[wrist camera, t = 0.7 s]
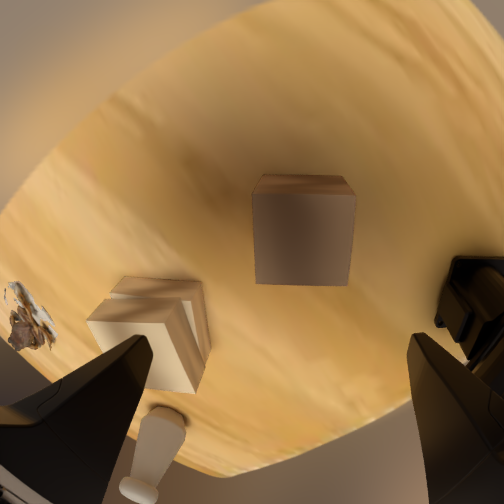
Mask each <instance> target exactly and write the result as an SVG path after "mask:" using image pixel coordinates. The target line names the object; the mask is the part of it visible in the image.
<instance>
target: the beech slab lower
mask: <svg viewBox="0 0 504 504" xmlns="http://www.w3.org/2000/svg"><path fill="white" fill-rule="evenodd" d="M110 296H111V299H128V298H166V297H180V298H181V301H182V304H183V306H184V309H185V312H186V315H187V318H188V321H189V324H190V326H191V329H192V332H193V335H194V337H195V340H196V343H197V345H198V348H199V351H200V353H201V356H202V358H203V361H204V364H206V361H207V359H208V356H209V353H210V351H211V343H210V337H209V331H208V324H207V317H206V311H205V304H204V297H203V290H202V282H195V281H179V280H165V279H151V278H139V277H126V276H125V277H124V278H123V279H122V280H121V281H120V282H119V283H118V284H117V285H116V286H115V287H114V288H113V289H112V290H111V292H110Z"/></svg>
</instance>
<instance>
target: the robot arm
mask: <svg viewBox="0 0 504 504" xmlns="http://www.w3.org/2000/svg"><path fill="white" fill-rule="evenodd" d="M458 262H460V263H459V264H458V265H457V263H458ZM440 321H441V322H440ZM439 322H440V323H439ZM434 323H435V325H436V327H437V328H446V327H447V328H448V330H449V332H450V334H451V336H452V338H453V340H454V341H455V343H459V344H460V346H461V348H462V350H463V352H464V354H465V356H466V358H467V360H470V361H469V362H468V364H467V365H466V366H464V365H463V364H462V363H461V362H459V361H458V360H457V359H456V358H455V357H453V356H452V355H451V354H450V353H449V352H447V351H446V350H445V349H444V348H443V347H441V346H440V345H439V344H438V343H437V342H435V341H434V340H433V339H432V338H431V337H429V336H428V335H427V334H426V333H424V332H421V333H414V334H412V336H411V339H410V343H409V347H408V351H407V363H408V370H409V378H410V386H411V395H412V401H413V406H414V411H415V415H416V420H417V425H418V430H419V435H420V440H421V446H422V452H423V458H424V465H425V472H426V480H427V488H428V497H429V504H504V257H470V256H457V257H455V258H454V259H453V261H452V264H451V268H450V272H449V276H448V279H447V283H446V284H445V287H444V290H443V294H442V297H441V300H440V303H439V307H438V312H437V315H436V318H435V321H434ZM152 360H153V351H152V348H151V346H150V343H149V341H148V339H147V337H146V336H145V335H140V334H135V335H133V336H131V337H130V338H128V339H126V340H125V341H123V342H121V343H120V344H118V345H116V346H115V347H113V348H111V349H110V350H108V351H106V352H105V353H103V354H101V355H100V356H98V357H96V358H95V359H93V360H91V361H90V362H88V363H86V364H85V365H83V366H81V367H80V368H78V369H76V370H75V371H73V372H71V373H70V374H68V375H66V376H64V377H63V379H62V378H61V379H59V380H58V381H56V382H54V383H53V384H51V385H49V386H47V387H45V388H44V389H42V390H40V391H38V392H36V393H34V394H32V395H30V396H28V397H25V398H24V399H22V400H19V401H17V402H15V403H13V404H10V405H6V406H0V504H102V501H103V498H104V495H105V492H106V489H107V486H108V483H109V481H110V478H111V475H112V472H113V469H114V467H115V464H116V461H117V458H118V456H119V453H120V450H121V447H122V445H123V442H124V440H125V437H126V434H127V432H128V429H129V427H130V424H131V421H132V419H133V416H134V414H135V411H136V409H137V406H138V404H139V401H140V399H141V396H142V394H143V391H144V388H145V384H146V381H147V377H148V374H149V370H150V367H151V363H152Z"/></svg>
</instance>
